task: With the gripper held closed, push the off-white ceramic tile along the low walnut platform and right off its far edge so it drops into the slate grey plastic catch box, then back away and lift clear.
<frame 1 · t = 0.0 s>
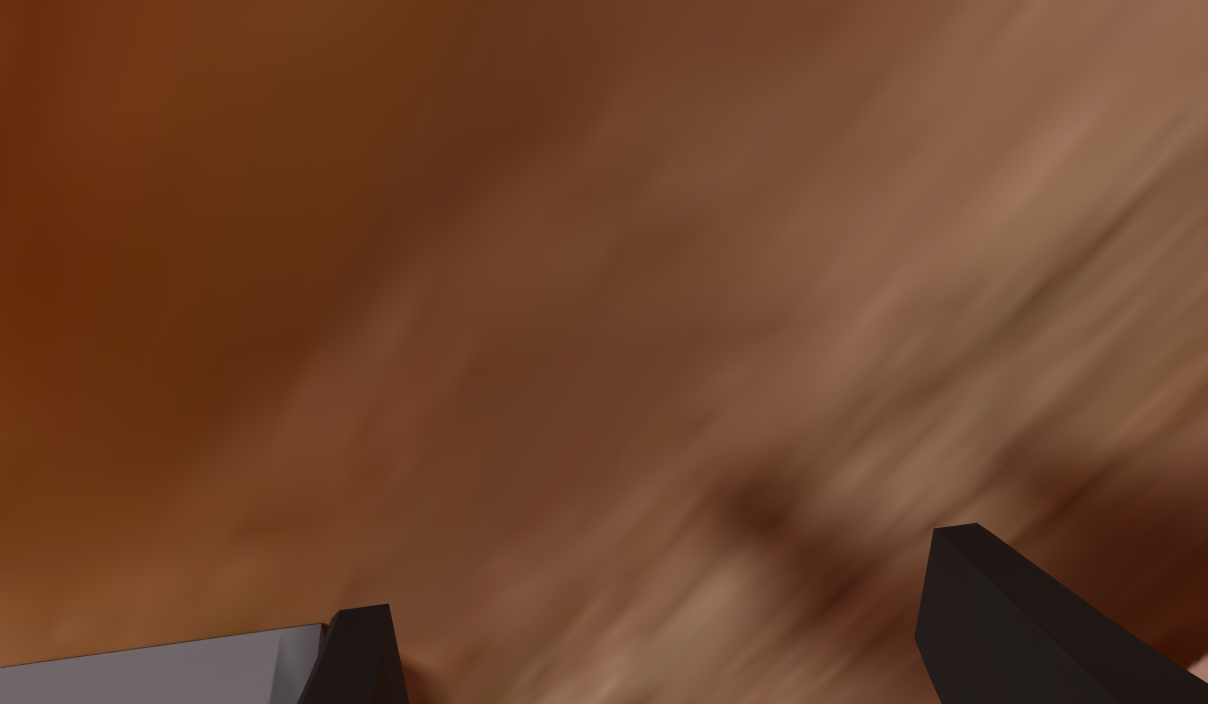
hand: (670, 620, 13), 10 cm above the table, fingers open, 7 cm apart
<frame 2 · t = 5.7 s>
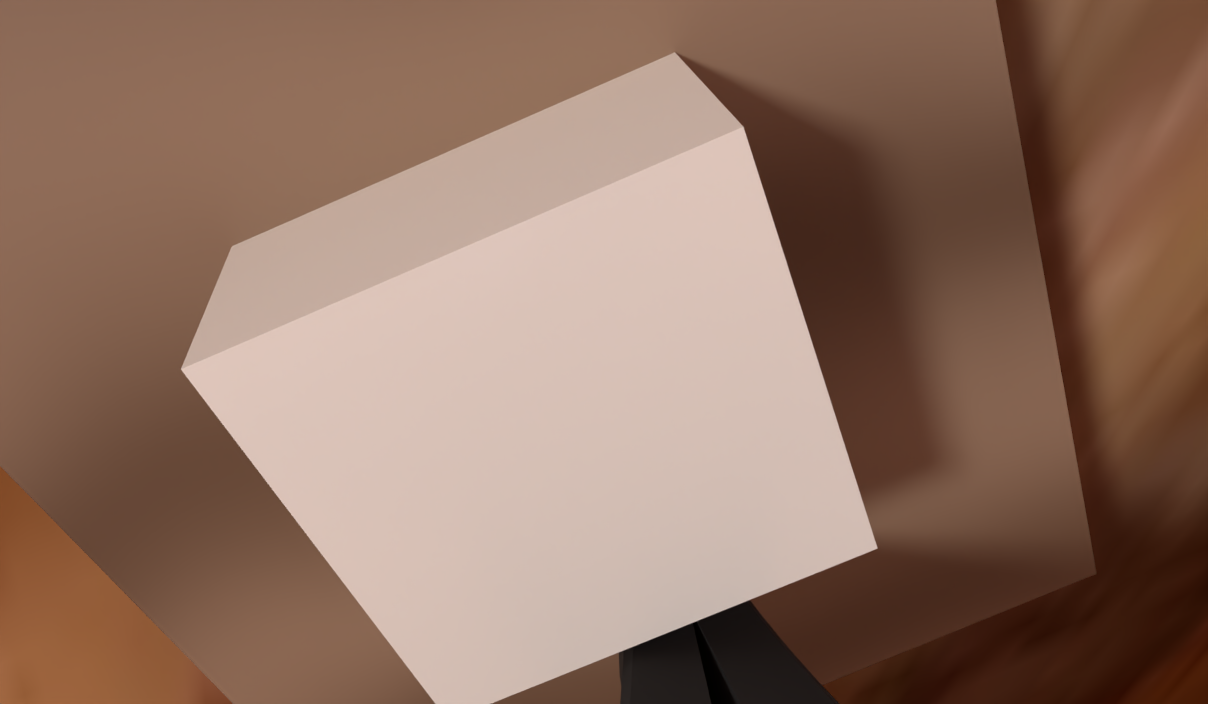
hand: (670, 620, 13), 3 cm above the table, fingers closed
tile: (545, 340, 11), point 2 cm above the table, touching gripper, platform
platform: (536, 308, 13), on the table
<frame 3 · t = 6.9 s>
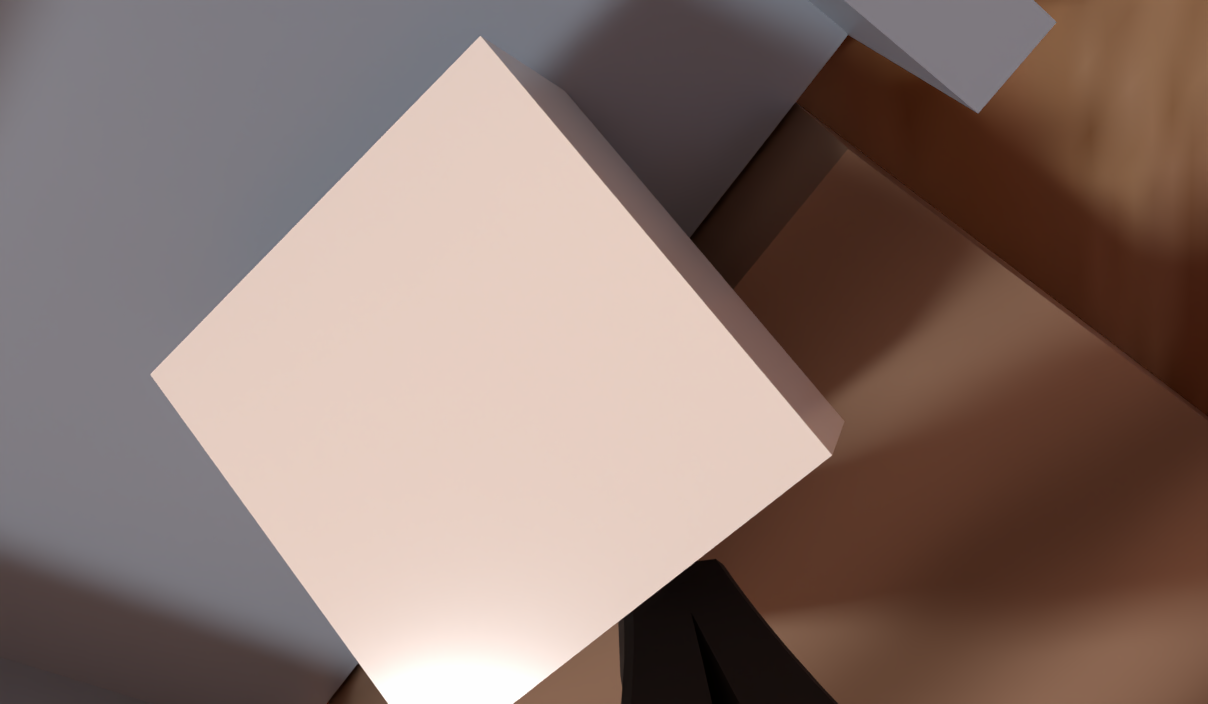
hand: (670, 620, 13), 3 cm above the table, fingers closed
catch box: (201, 273, 12), on the table
tile: (543, 388, 12), point 2 cm above the table, tilted 37°
platform: (857, 598, 17), on the table
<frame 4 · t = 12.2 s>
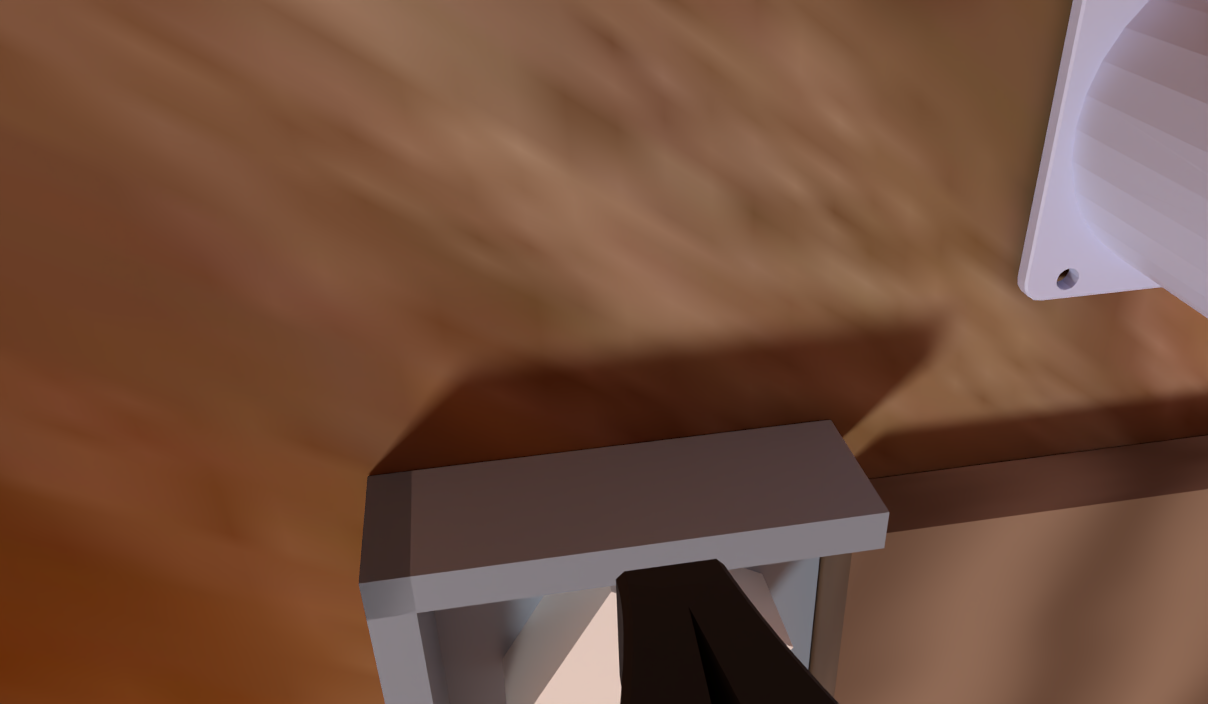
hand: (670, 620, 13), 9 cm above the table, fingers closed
catch box: (633, 679, 27), on the table
tile: (632, 616, 25), resting on catch box
platform: (1039, 618, 28), on the table
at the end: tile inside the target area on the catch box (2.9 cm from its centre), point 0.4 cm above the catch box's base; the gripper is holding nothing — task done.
